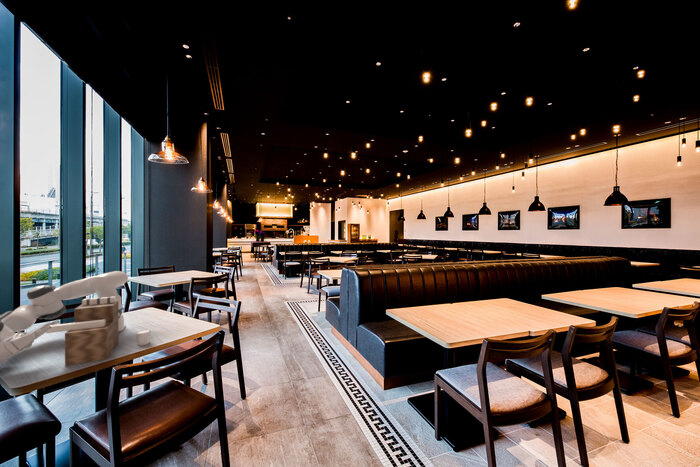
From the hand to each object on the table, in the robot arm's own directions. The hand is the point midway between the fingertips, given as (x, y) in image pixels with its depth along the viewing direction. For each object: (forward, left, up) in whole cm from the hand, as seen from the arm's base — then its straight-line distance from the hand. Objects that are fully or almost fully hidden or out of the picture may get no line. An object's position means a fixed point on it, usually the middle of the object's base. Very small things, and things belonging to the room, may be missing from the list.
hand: (54, 324), depth 141 cm
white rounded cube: (+17, +32, -20) cm, 42 cm away
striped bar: (-1, +20, +5) cm, 21 cm away
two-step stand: (+5, +14, -20) cm, 25 cm away
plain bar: (+6, +6, -4) cm, 9 cm away
